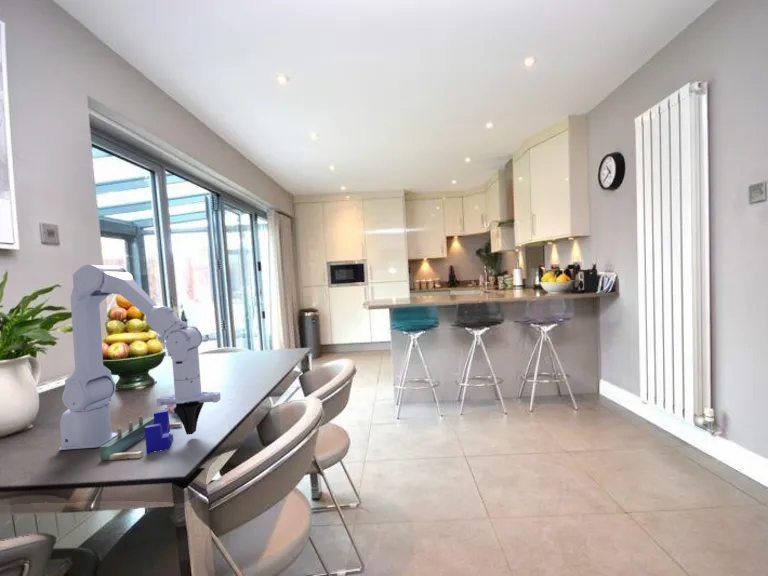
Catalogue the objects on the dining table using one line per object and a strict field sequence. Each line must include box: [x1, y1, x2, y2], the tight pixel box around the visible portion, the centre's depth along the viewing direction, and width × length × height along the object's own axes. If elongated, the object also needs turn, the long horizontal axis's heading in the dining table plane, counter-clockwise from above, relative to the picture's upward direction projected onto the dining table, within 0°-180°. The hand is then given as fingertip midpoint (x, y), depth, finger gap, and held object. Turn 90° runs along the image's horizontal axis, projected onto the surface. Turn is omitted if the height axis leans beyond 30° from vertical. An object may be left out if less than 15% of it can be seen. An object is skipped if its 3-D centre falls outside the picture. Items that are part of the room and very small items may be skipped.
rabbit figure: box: [164, 404, 176, 414], centre depth 113 cm, size 6×6×15 cm
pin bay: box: [99, 415, 183, 461], centre depth 92 cm, size 8×18×5 cm, turn 1°
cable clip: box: [144, 409, 174, 454], centre depth 92 cm, size 12×4×6 cm, turn 22°
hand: (191, 432), depth 93 cm, fingers closed
